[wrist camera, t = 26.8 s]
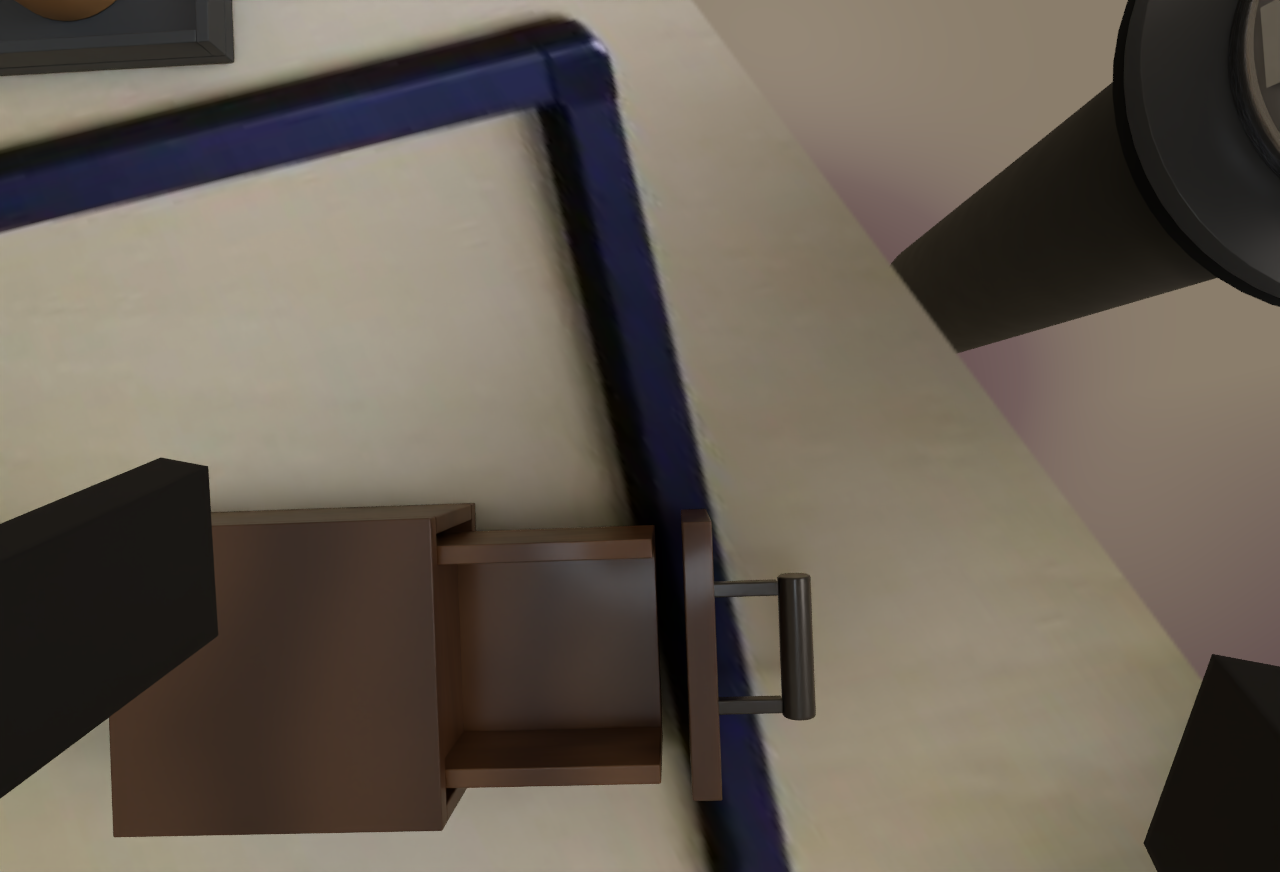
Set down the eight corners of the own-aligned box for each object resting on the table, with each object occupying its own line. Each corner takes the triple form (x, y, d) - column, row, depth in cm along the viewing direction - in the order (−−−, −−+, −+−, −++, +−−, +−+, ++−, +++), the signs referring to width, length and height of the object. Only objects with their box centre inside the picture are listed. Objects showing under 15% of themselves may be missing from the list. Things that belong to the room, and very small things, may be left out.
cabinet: (475, 502, 41) (430, 518, 33) (484, 758, 41) (442, 831, 33) (204, 512, 41) (101, 529, 34) (214, 765, 41) (112, 838, 34)
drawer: (795, 505, 39) (816, 517, 34) (804, 745, 39) (827, 798, 34) (445, 517, 40) (407, 531, 34) (454, 753, 40) (417, 807, 34)
